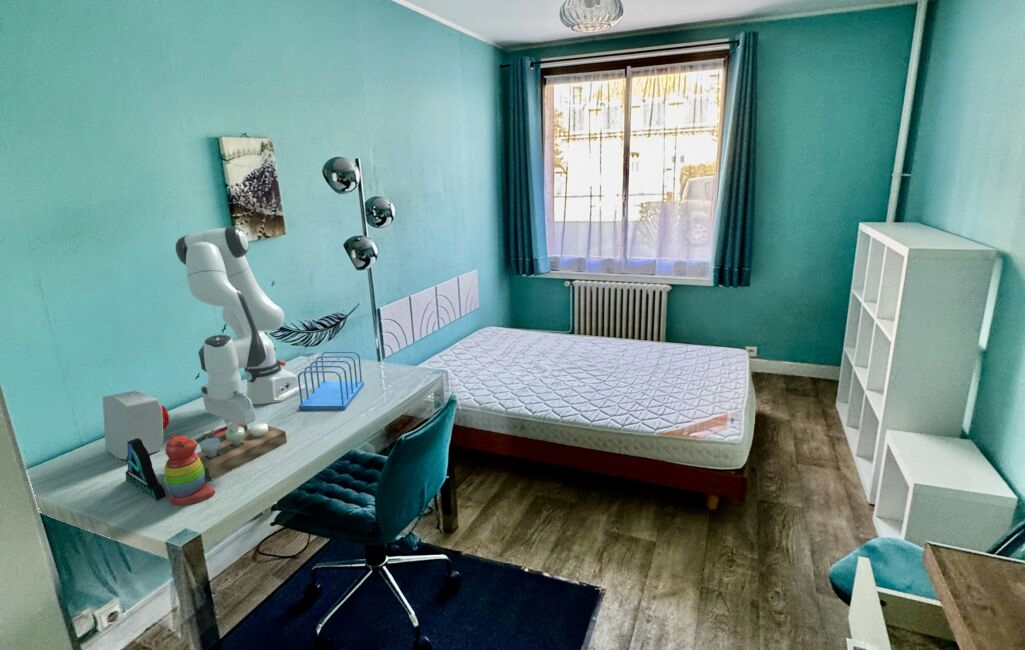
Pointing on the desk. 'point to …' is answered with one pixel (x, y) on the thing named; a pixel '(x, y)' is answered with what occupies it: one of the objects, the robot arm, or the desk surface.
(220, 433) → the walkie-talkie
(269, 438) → the knob panel
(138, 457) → the decorative sign
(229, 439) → the sage knob
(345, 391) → the file sorter
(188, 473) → the stacking bear
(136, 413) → the electrical switch box
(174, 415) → the desk surface
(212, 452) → the grey knob
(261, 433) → the cream knob
